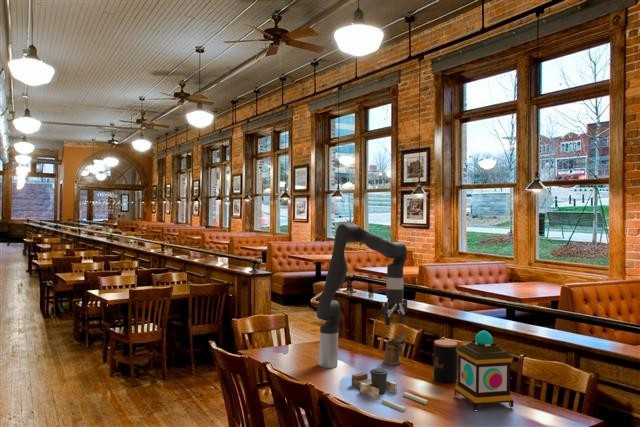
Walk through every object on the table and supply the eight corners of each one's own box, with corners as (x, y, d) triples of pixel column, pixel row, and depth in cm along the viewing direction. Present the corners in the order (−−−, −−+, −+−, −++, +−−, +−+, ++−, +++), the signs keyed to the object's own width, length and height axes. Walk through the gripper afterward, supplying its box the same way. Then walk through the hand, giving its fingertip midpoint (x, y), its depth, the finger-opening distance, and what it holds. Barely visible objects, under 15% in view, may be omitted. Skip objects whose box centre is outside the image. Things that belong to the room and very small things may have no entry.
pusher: (351, 385, 228) (351, 374, 228) (362, 382, 232) (363, 372, 232) (365, 390, 221) (365, 380, 221) (377, 387, 225) (377, 377, 225)
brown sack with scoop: (397, 368, 254) (398, 333, 254) (379, 362, 265) (380, 327, 265) (410, 366, 259) (411, 331, 259) (392, 359, 270) (392, 326, 270)
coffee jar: (430, 377, 242) (431, 339, 242) (452, 376, 243) (452, 339, 243) (437, 384, 231) (438, 345, 231) (460, 384, 232) (460, 345, 232)
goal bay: (381, 402, 208) (381, 399, 208) (405, 394, 217) (405, 392, 217) (403, 411, 198) (403, 408, 198) (427, 403, 207) (427, 400, 207)
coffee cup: (387, 389, 223) (388, 367, 223) (388, 396, 215) (388, 372, 215) (369, 388, 224) (369, 366, 224) (369, 395, 216) (369, 372, 216)
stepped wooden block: (360, 392, 219) (360, 383, 219) (380, 386, 227) (380, 377, 227) (376, 399, 212) (376, 389, 212) (397, 392, 219) (397, 383, 219)
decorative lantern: (449, 395, 217) (450, 326, 217) (491, 392, 221) (492, 324, 222) (474, 413, 198) (475, 337, 198) (518, 410, 202) (519, 335, 202)
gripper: (399, 285, 230) (399, 320, 230) (377, 287, 221) (376, 324, 221) (412, 287, 224) (411, 323, 224) (389, 289, 215) (389, 327, 215)
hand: (394, 324), depth 222 cm, fingers open, 8 cm apart
